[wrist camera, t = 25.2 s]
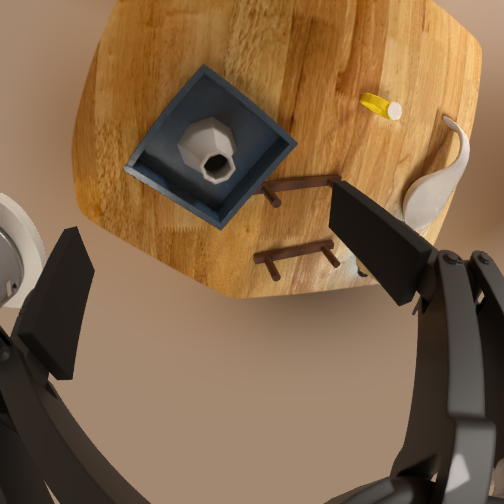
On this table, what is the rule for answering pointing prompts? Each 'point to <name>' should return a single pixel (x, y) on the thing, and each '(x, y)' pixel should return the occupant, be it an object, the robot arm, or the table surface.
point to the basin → (245, 157)
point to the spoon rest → (435, 187)
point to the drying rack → (268, 191)
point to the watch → (382, 106)
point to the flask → (209, 149)
